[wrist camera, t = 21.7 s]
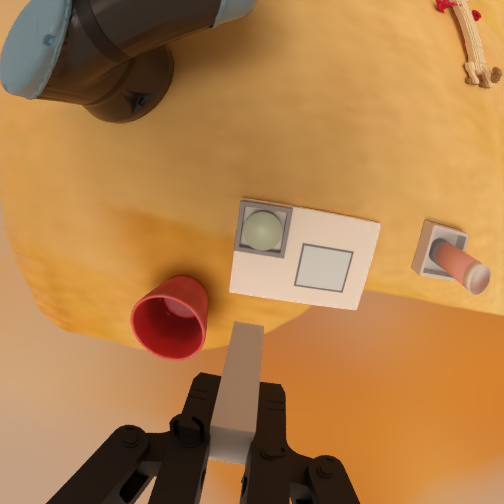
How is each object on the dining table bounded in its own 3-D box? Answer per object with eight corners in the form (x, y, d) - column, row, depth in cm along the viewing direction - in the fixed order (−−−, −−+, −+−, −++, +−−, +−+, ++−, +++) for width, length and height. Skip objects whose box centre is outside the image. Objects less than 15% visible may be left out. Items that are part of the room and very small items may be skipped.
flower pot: (231, 309, 44) (221, 346, 35) (179, 333, 46) (161, 369, 37) (193, 254, 41) (172, 281, 32) (143, 285, 44) (116, 314, 35)
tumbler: (432, 235, 37) (476, 263, 26) (450, 240, 37) (494, 267, 25) (425, 260, 38) (465, 293, 27) (443, 263, 38) (483, 295, 27)
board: (242, 197, 38) (239, 200, 36) (378, 222, 38) (384, 226, 35) (230, 288, 43) (227, 296, 40) (354, 306, 42) (358, 314, 40)
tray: (424, 219, 37) (434, 224, 34) (459, 229, 37) (469, 234, 34) (411, 267, 39) (419, 275, 37) (445, 273, 39) (454, 281, 36)
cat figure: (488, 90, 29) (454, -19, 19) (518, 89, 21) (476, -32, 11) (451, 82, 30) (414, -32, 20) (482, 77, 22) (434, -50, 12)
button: (247, 207, 37) (245, 210, 35) (284, 213, 37) (285, 216, 35) (242, 243, 38) (240, 247, 37) (278, 249, 38) (278, 253, 37)
